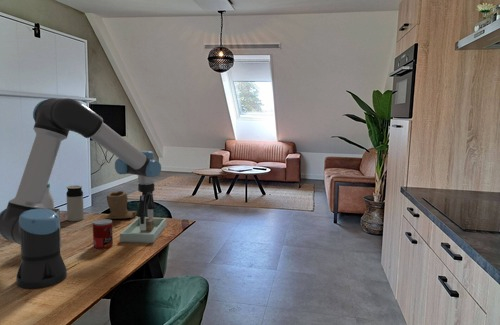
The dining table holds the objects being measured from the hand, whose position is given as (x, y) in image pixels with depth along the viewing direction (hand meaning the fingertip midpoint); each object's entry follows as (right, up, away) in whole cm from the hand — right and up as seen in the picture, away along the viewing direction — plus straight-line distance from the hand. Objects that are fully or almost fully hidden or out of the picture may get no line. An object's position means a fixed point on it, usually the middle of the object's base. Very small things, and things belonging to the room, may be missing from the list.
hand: (146, 226), depth 181 cm
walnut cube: (0, -2, 0) cm, 2 cm away
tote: (0, -3, -3) cm, 4 cm away
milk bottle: (-56, 0, +12) cm, 57 cm away
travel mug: (-43, 0, +17) cm, 47 cm away
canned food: (-13, -5, -21) cm, 25 cm away
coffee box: (-35, -5, -24) cm, 43 cm away
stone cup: (-20, 0, +22) cm, 30 cm away
